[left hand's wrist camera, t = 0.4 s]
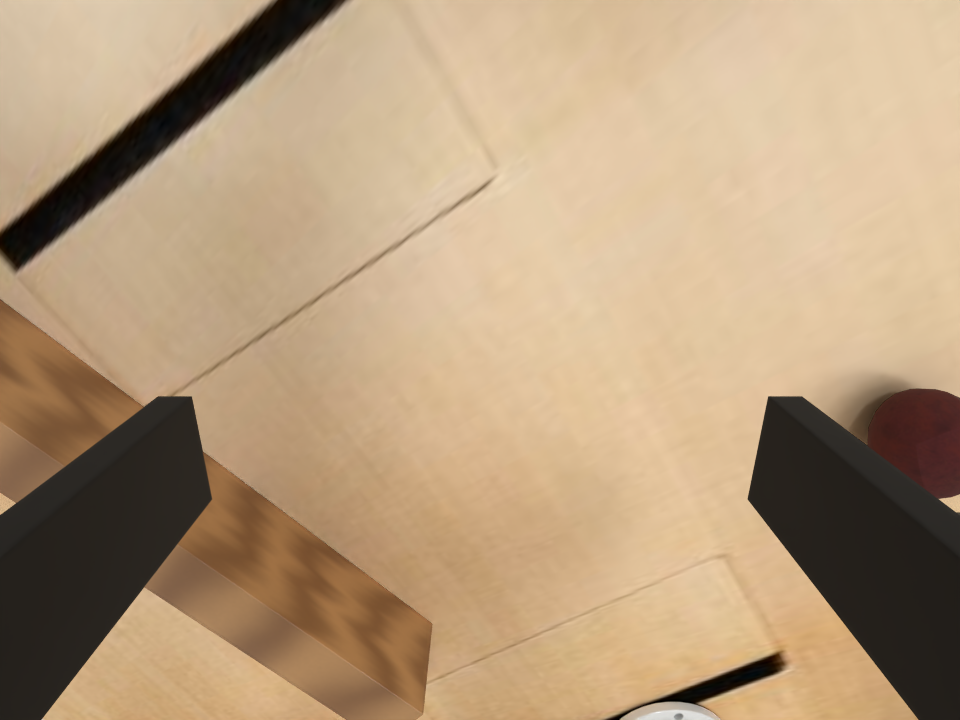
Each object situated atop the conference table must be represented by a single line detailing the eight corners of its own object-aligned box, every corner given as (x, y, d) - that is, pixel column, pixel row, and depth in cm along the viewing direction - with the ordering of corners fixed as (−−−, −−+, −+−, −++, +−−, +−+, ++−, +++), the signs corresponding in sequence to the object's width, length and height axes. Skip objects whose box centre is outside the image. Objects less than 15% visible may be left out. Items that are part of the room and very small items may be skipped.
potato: (862, 477, 44) (928, 533, 38) (831, 401, 42) (897, 448, 35) (954, 436, 43) (1040, 487, 36) (928, 355, 41) (1015, 394, 34)
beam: (-373, 96, 35) (-631, 79, 27) (-348, 37, 34) (-610, 0, 26) (398, 650, 51) (382, 744, 43) (432, 623, 50) (423, 714, 42)
